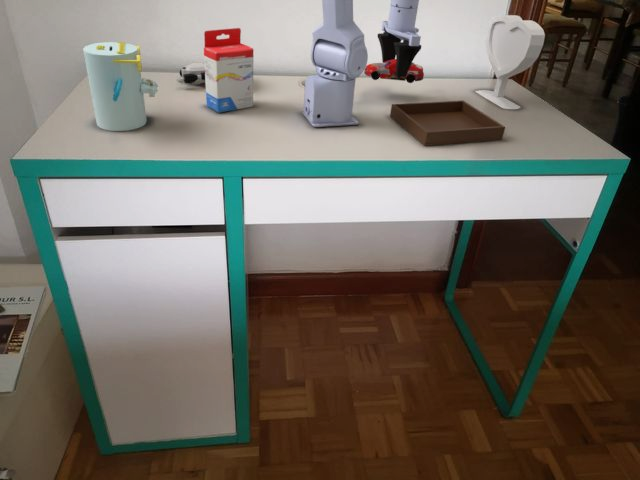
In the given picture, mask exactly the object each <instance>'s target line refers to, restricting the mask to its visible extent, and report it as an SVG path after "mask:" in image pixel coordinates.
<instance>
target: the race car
mask: <svg viewBox="0 0 640 480" xmlns="http://www.w3.org/2000/svg"><path fill="white" fill-rule="evenodd" d="M363 72H364V75H366V77H368V78H371V79H372V80H374V81H377V80H379V79H380V80H381V79H382V80H391V81H392V80H394V81H403V82H404V81H405V82H406V83H408V84H412V83H414V82H421V81H422V80H424V76H425V73H424V68H423V66H422V65H420V64H417V63H415V62H413V61H412V63H411V66H410V68H409V70H408V73H407V75H406V77H397V76H396V58H395V59H392V60H389V61H386V62H374V63H368V64H366V67H365V69H364V71H363Z"/></svg>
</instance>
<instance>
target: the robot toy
mask: <svg viewBox="0 0 640 480" xmlns="http://www.w3.org/2000/svg"><path fill="white" fill-rule="evenodd" d="M175 80H176V82H178V83H183V82H184V84H192V85H193V86H199V85H200V84H206V82H205V64H204V62H192V63H188V64H187V65H184V66H182V68H181V69H180V70H179V76H178V77H176V78H175Z"/></svg>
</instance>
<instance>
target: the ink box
mask: <svg viewBox="0 0 640 480" xmlns="http://www.w3.org/2000/svg"><path fill="white" fill-rule="evenodd" d="M241 34H242V30H241V27H233V28H222V29H220V28H219V29H210V30H204V32H203V38H204V47H203V60H204V62H203V63H204V64H205V82H206V83H205V100H206V106H207V107H208V108H210V109H211V110H213V111H215V112H216V113H218V114H220V113H225V112H232V111H236V110H242V109H247V108H252V107H254V48H253V47H251V46H249V45H246V44H244V43H242V42H241V36H242V35H241ZM222 35H224V36H228V37H226V38H217V37H220V36H222Z"/></svg>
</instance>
